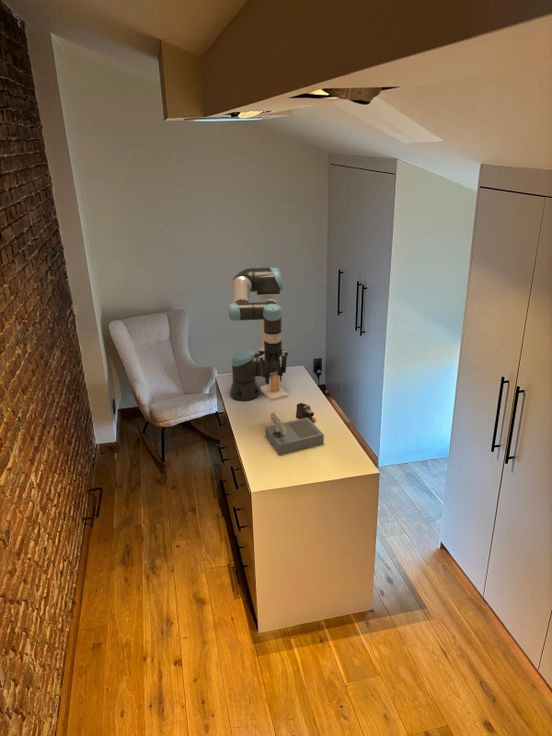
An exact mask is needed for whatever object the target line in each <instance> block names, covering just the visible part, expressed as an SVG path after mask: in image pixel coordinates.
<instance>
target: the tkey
mask: <svg viewBox="0 0 552 736" xmlns="http://www.w3.org/2000/svg"><path fill="white" fill-rule="evenodd" d="M270 420H271V422H272V423H273V425H275V426H276V434H277V435H280V434H281V433H282V435H285V434H286V427H285V426H284V425H283V423H284V422H282V421H281V419H280V418H279V417H278V416H277V415H276V413H275V412H272V413H270Z"/></svg>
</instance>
